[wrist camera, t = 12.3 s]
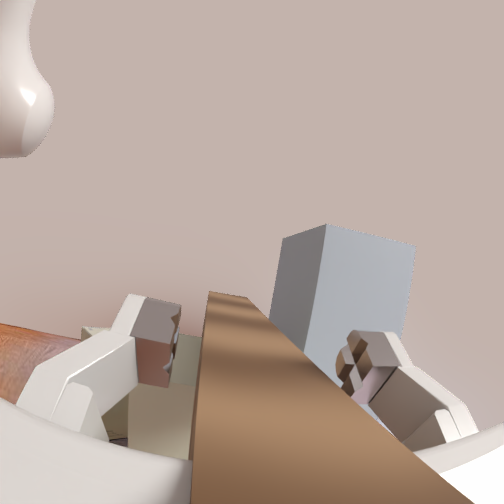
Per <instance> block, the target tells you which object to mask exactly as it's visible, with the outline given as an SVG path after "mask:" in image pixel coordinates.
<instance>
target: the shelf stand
mask: <svg viewBox="0 0 504 504" xmlns="http://www.w3.org/2000/svg"><path fill="white" fill-rule="evenodd" d="M415 249H416V246H414V245H410V244H406V243H402V242H398V241H394V240H391V239H386V238H383V237H379V236H375V235H371V234H367V233H362V232H359V231H354V230H350V229H346V228H341V227H337V226H333V225H329V224H325V225H322V226H319V227H316V228H313V229H310V230H307V231H304V232H301V233H298V234H295V235H292V236H289V237H286V238H283V241H282V247H281V253H280V259H279V264H278V270H277V276H276V281H275V288H274V293H273V298H272V304H271V309H270V315H269V320H270V321H271V322H272V323H273V324H274V325H275V326H276V327H277V328H278V329H279V330H280V331H281V332H282V333H283V334H284V335H285V336H286V337H287V338H288V339H289V340H290V341H291V342H292V343H293V344H294V345H295V346H296V347H298V348H299V349H300V350H301V351H302V352H303V353H304V354H305V355H306V356H307V357H308V358H309V359H310V360H311V361H312V362H313V363H314V364H315V365H316V366H317V367H318V368H320V369H321V370H322V371H323V372H324V373H325V374H326V375H327V376H328V377H329V378H330V379H331V380H332V381H333V382H334V383H336V384H337V385H338V386H339V387H340V388H341V386H342V384H343V382H342V381H341V380H340V379H339V378H338V377H337V374H336V367H335V364H336V358H337V355H338V353H339V351H340V349H342V348H343V347H344V346H346V345H347V344H348V343H347V337H348V335H349V333H350V332H351V331H352V330H364V331H377V332H380V331H384V332H394V333H395V334H397V336H398V338H399V340H400V339H401V334H402V330H403V325H404V320H405V315H406V310H407V304H408V299H409V293H410V287H411V280H412V273H413V266H414V258H415ZM358 405H359V406H361V407H362V408H363V409H364V410H365V411H366V412H367V413H368V414H369V415H371V416H372V417H373V418H374V419H375V420H376V421H377V419H378V416H377V415H376V414H375V413H374V412H373V411H372V409H371V408H370V407H369V406H368V405H369V404H358Z"/></svg>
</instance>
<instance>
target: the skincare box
mask: <svg viewBox="0 0 504 504" xmlns="http://www.w3.org/2000/svg"><path fill="white" fill-rule="evenodd" d="M103 330H107V331H109V330H110V328H96V327H84V326H82V334H81V342H82V341H84V340H86V339H88V338H90V337H92V336H94V335H95V334H97V333H99V332H101V331H103ZM128 405H129V393H128V394H127V395H126V396H124V397H123V398H122V399H121V400H120V401H119V402H117V403H116V404H115V405H114V406H113V407H112V408H111V409H109V410H108V411H107V412H106V413H105V414H104V415H102V416H101V419H102V421H103V424H104V427H105V430H106V432H107V435H108V437H109V440H111V439H118V438H126V437H128Z"/></svg>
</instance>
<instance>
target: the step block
mask: <svg viewBox="0 0 504 504" xmlns="http://www.w3.org/2000/svg"><path fill="white" fill-rule="evenodd" d="M201 340H202V337H196V336H190V335H185V334H179V336H178V343H177V349H176V354H175V359H173V364H172V373H171V378H170V382H169V387H168V388H163V387H157V386H152V385H147V384H142V383H138V385H137V386H136V387H135V388H134V389H132V390H131V391H130V392H129V405H128V448H131V449H135V450H140V451H144V452H148V453H153V454H158V455H163V456H168V457H173V458H179V459H185V460H188V455H189V444H190V434H191V424H192V414H193V405H194V396H195V388H196V379H197V371H198V363H199V355H200V347H201Z"/></svg>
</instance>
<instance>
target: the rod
mask: <svg viewBox="0 0 504 504" xmlns="http://www.w3.org/2000/svg"><path fill="white" fill-rule="evenodd" d="M188 460H192V461H193V464H192V478H191V492H190V504H475V503H474V502H473V501H471V500H470V499H469V498H468V497H466V496H465V495H464V494H462V493H461V492H460V491H459V490H457V489H456V488H455V487H454V486H452V485H451V484H450V483H449V482H448V481H446V480H445V479H444V478H443V477H441V476H440V475H439V474H438V473H437V472H435V471H434V470H433V469H432V468H431V467H429V466H428V465H427V464H426V463H425V462H423V461H422V460H421V459H420V458H419V457H417V456H416V455H415V454H414V453H413V452H412V451H410V450H409V449H408V448H407V447H406V446H405V445H403V444H402V443H401V442H400V441H399V440H398V439H397V438H395V437H394V436H393V435H392V434H391V433H390V432H389V431H387V430H386V429H385V428H384V427H383V426H382V425H381V424H379V423H378V422H377V421H376V420H375V419H374V418H373V417H372V416H371V415H369V414H368V413H367V412H366V411H365V410H364V409H363V408H362V407H361V406H359V405H358V404H357V403H356V402H355V401H354V400H353V399H352V398H351V397H350V396H349V395H347V394H346V393H345V392H344V391H343V390H342V389H341V388H340V387H339V386H338V385H337V384H336V383H334V382H333V381H332V380H331V379H330V378H329V377H328V376H327V375H326V374H325V373H324V372H323V371H322V370H321V369H320V368H318V367H317V366H316V365H315V364H314V363H313V362H312V361H311V360H310V359H309V358H308V357H307V356H306V355H305V354H304V353H303V352H302V351H301V350H300V349H299V348H298V347H296V346H295V345H294V344H293V343H292V342H291V341H290V340H289V339H288V338H287V337H286V336H285V335H284V334H283V333H282V332H281V331H280V330H279V329H278V328H277V327H276V326H275V325H274V324H273V323H272V322H271V321H270V320H269V319H268V318H267V317H266V316H265V315H264V314H263V313H262V312H261V311H260V310H259V309H258V308H257V307H256V306H255V305H254V304H253V303H252V302H251V301H250V300H249V299H248V298H246V297H241V296H235V295H229V294H223V293H217V292H211V291H209V295H208V301H207V308H206V313H205V319H204V325H203V333H202V340H201V347H200V355H199V363H198V371H197V379H196V388H195V396H194V405H193V414H192V424H191V434H190V444H189V455H188Z"/></svg>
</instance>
